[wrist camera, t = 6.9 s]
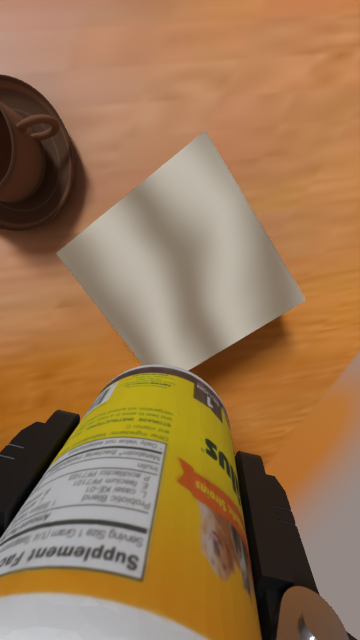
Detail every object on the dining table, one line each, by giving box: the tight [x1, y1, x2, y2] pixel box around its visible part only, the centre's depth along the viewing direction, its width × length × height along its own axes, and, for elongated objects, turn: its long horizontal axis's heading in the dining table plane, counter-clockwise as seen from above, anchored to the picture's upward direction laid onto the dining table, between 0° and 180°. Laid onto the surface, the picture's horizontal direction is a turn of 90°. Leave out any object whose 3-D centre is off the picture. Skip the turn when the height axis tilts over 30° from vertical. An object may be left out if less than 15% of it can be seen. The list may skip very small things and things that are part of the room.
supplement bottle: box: [0, 364, 262, 640], centre depth 6 cm, size 6×6×10 cm
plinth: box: [56, 131, 306, 371], centre depth 24 cm, size 14×14×6 cm
